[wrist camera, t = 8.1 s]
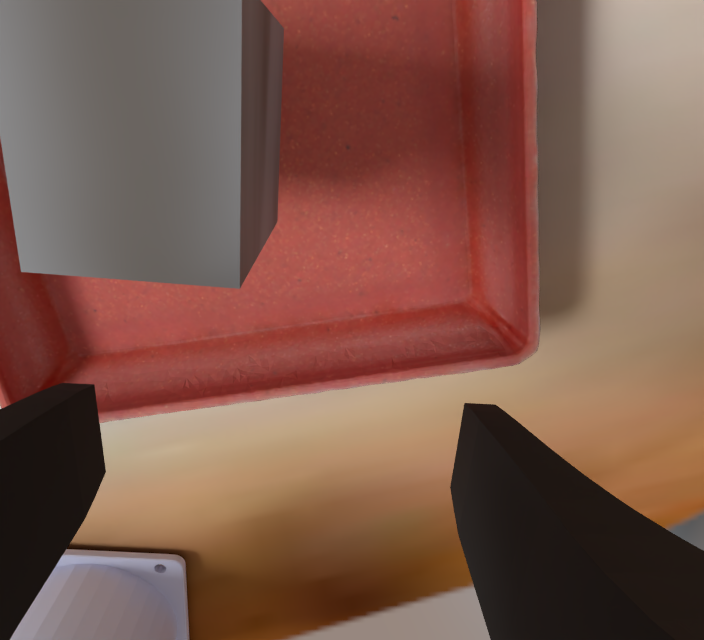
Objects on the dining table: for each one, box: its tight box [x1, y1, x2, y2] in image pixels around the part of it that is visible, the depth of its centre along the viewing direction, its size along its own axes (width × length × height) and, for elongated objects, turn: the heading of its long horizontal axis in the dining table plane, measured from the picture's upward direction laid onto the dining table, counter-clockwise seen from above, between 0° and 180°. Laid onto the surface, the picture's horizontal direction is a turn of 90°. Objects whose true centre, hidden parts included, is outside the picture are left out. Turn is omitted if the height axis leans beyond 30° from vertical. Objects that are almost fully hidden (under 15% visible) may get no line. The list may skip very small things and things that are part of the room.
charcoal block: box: [0, 0, 284, 289], centre depth 12 cm, size 4×5×6 cm
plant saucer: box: [0, 0, 540, 423], centre depth 16 cm, size 18×18×3 cm
